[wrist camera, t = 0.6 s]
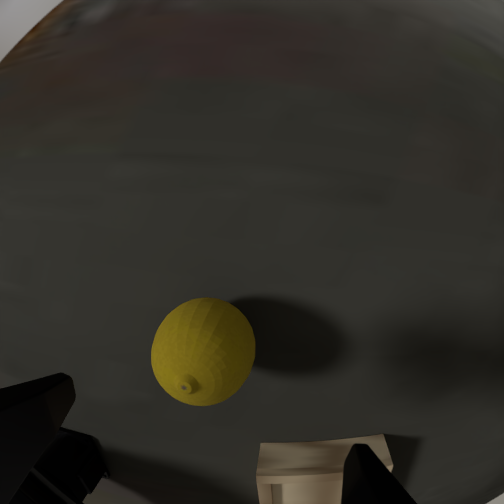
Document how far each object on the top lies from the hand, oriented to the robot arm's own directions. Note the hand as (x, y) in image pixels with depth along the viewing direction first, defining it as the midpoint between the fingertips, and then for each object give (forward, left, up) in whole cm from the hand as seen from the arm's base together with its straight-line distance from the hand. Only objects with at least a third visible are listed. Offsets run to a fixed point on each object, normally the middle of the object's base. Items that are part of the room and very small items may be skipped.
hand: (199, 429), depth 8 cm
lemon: (-2, -2, -13) cm, 13 cm away
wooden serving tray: (+5, -18, -13) cm, 22 cm away
